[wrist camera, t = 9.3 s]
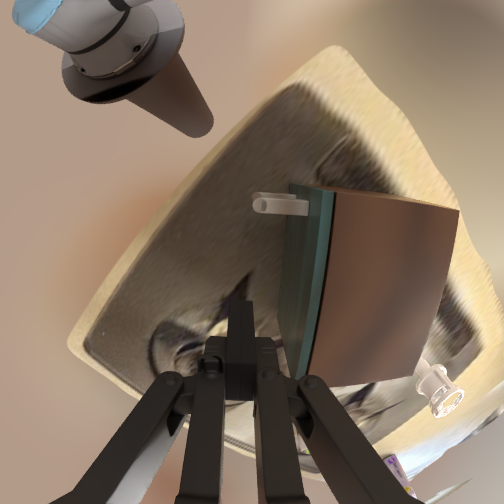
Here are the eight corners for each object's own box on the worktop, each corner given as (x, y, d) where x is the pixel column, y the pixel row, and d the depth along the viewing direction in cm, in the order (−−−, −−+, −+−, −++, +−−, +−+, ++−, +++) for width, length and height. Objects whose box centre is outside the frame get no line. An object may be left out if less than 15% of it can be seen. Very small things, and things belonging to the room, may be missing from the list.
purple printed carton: (402, 466, 62) (417, 501, 46) (390, 473, 63) (404, 508, 46) (395, 451, 58) (414, 492, 41) (381, 459, 58) (398, 501, 41)
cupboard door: (242, 316, 41) (243, 389, 26) (250, 179, 35) (255, 184, 20) (283, 317, 41) (302, 388, 26) (297, 183, 36) (334, 191, 21)
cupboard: (285, 317, 41) (304, 389, 26) (297, 183, 36) (336, 191, 21) (367, 315, 42) (412, 375, 27) (388, 193, 36) (459, 210, 21)
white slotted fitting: (407, 354, 45) (444, 402, 31) (434, 345, 45) (472, 387, 31) (401, 379, 47) (431, 426, 33) (426, 370, 47) (459, 413, 33)
